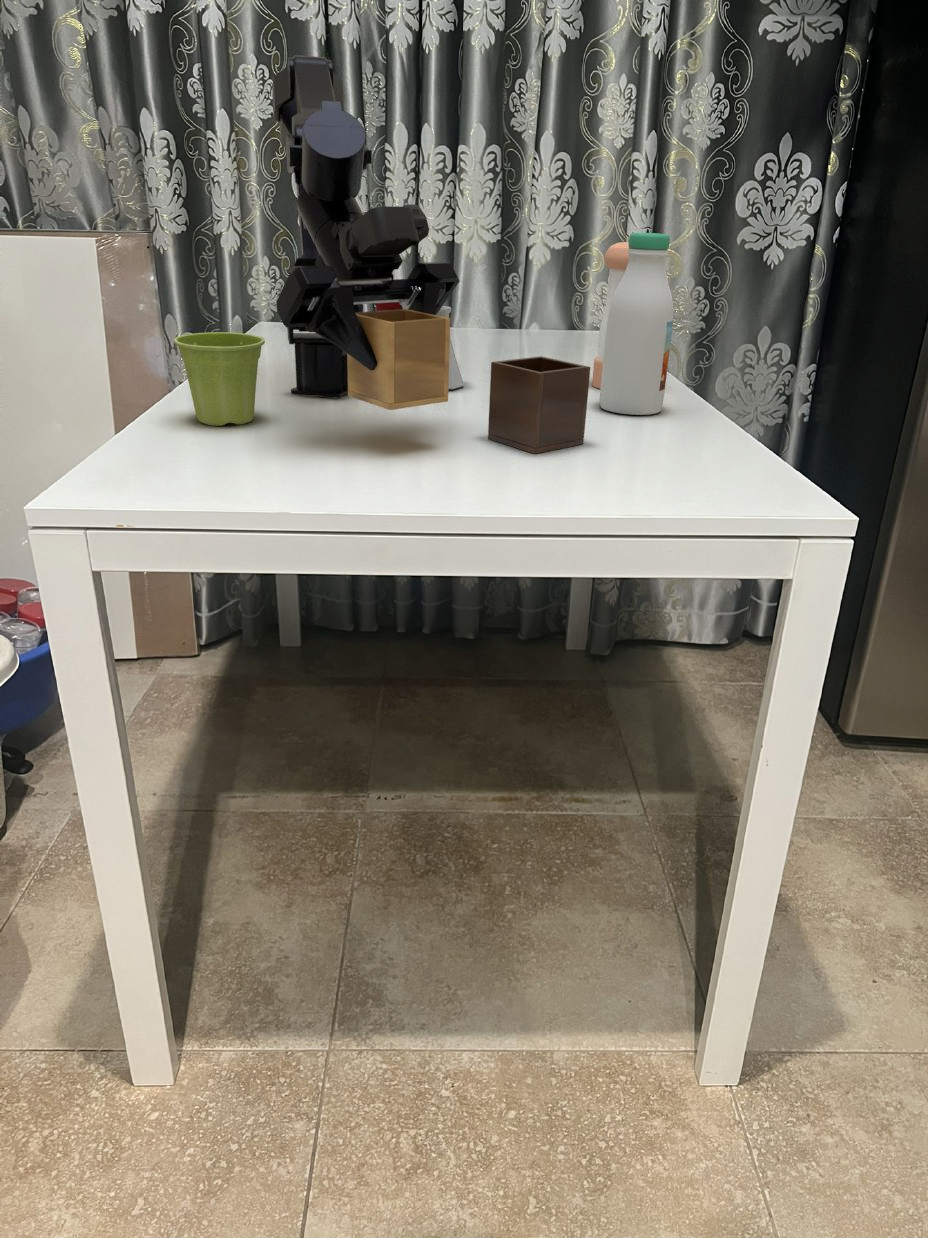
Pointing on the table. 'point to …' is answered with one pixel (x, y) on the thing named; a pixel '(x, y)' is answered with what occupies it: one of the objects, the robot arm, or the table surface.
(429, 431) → the table surface
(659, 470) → the table surface
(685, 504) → the table surface
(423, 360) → the light brown open box
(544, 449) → the box
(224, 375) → the plant pot
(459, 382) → the flask
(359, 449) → the table surface
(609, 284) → the pepper shaker
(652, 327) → the milk bottle
